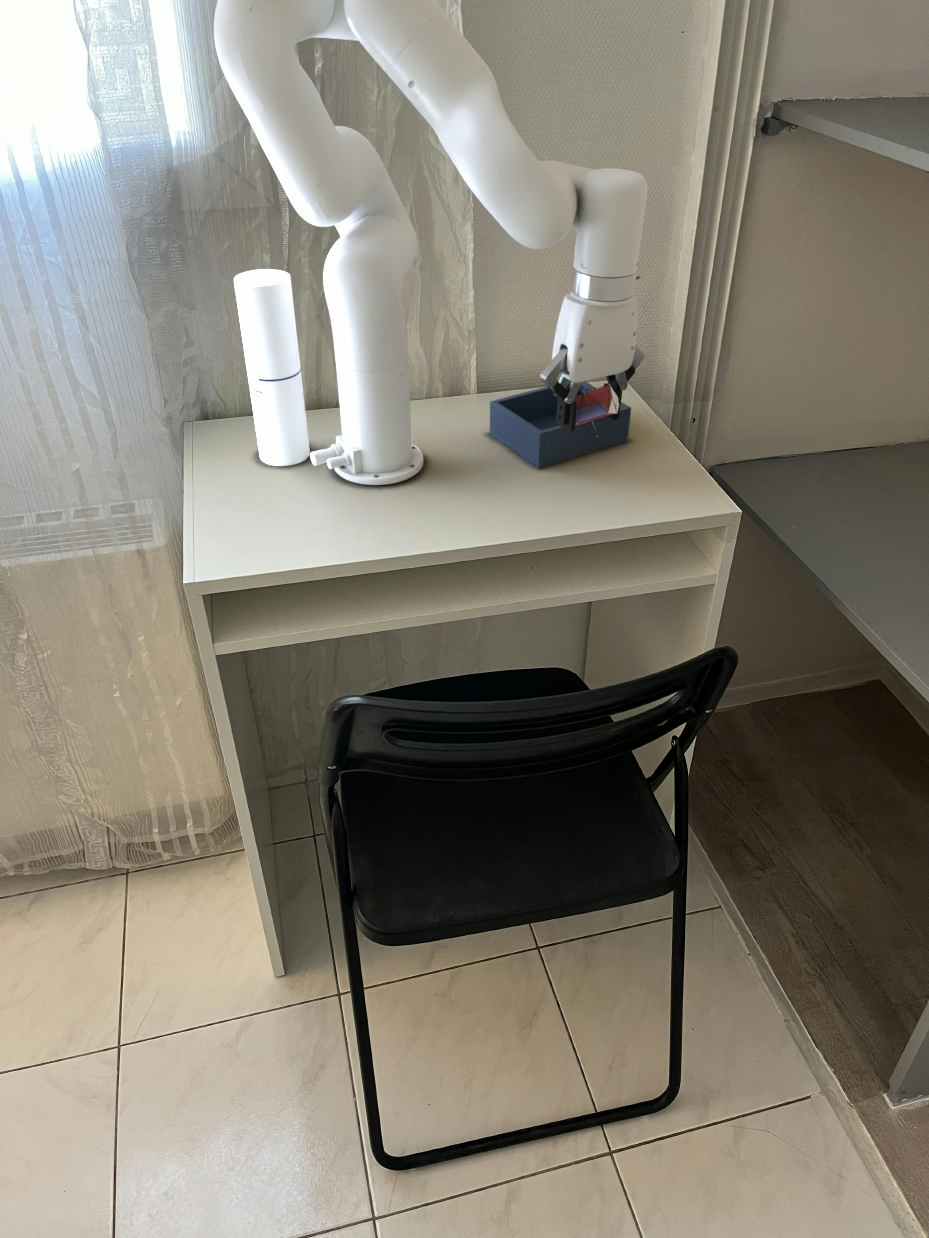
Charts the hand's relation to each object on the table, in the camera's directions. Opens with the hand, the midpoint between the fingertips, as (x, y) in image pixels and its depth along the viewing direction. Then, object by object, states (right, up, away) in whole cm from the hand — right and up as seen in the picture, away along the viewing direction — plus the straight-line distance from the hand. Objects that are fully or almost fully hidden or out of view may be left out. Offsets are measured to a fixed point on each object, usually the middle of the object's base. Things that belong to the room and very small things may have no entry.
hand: (587, 420), depth 122 cm
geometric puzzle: (0, -1, +1) cm, 1 cm away
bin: (-2, +1, +16) cm, 16 cm away
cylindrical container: (-42, -2, +12) cm, 44 cm away
